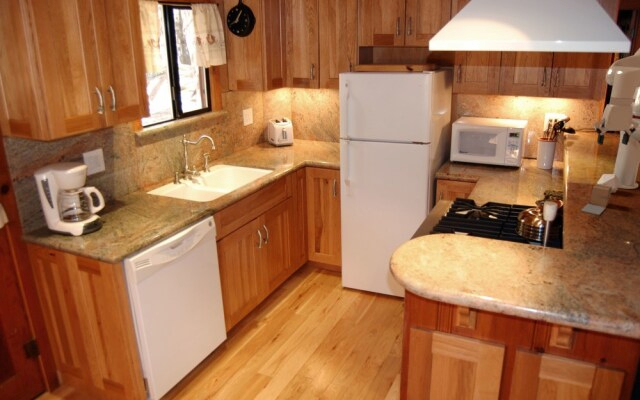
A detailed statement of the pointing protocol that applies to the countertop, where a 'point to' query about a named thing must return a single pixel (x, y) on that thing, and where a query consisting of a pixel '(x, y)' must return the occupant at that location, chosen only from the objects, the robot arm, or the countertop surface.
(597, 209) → the mat
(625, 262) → the countertop surface
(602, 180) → the die
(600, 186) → the block
